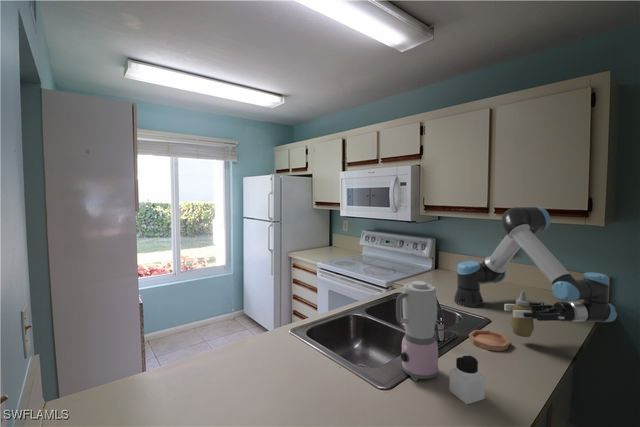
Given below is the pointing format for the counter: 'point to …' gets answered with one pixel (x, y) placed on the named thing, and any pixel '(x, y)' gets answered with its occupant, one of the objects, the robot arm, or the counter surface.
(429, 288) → the blender
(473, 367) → the medicine bottle
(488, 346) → the dish
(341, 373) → the counter surface
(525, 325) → the squeeze bottle
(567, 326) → the counter surface
